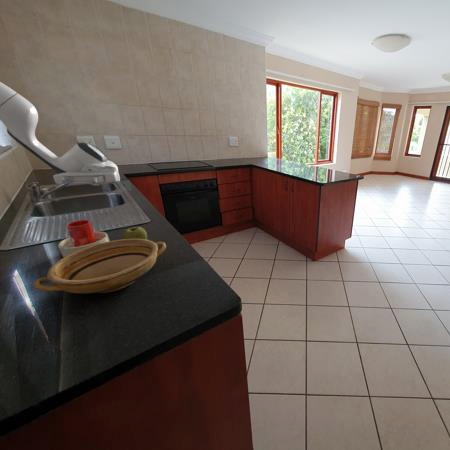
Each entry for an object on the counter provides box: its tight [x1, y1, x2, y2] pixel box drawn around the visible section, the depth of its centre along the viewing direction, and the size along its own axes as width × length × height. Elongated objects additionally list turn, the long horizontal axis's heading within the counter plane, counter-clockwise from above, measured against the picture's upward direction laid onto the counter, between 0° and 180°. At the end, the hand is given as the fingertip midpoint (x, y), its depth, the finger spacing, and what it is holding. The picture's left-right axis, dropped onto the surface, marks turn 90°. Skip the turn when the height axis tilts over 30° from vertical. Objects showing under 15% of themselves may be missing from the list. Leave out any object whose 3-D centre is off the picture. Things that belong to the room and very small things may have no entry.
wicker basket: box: [33, 238, 167, 295], centre depth 67 cm, size 30×24×8 cm
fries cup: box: [65, 219, 97, 247], centre depth 83 cm, size 6×6×10 cm
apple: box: [121, 226, 148, 240], centre depth 87 cm, size 8×8×7 cm
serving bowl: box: [57, 231, 111, 258], centre depth 84 cm, size 13×13×4 cm
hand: (78, 181), depth 89 cm, fingers open, 8 cm apart
